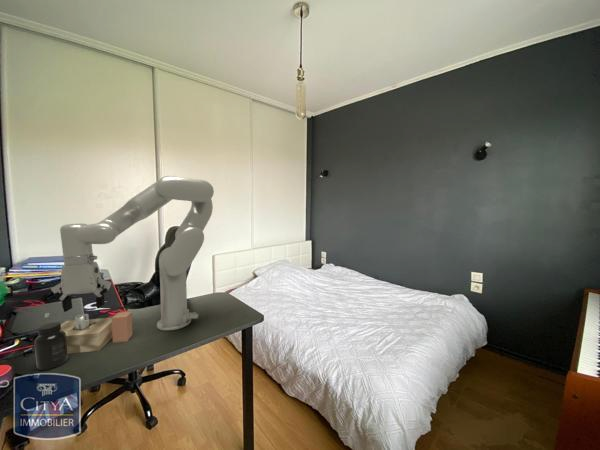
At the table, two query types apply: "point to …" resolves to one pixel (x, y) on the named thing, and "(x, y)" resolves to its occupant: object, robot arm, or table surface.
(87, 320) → the round metal bit
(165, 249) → the robot arm
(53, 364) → the supplement bottle
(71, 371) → the table surface
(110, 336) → the socket block
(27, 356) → the table surface
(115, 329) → the square rust bit
